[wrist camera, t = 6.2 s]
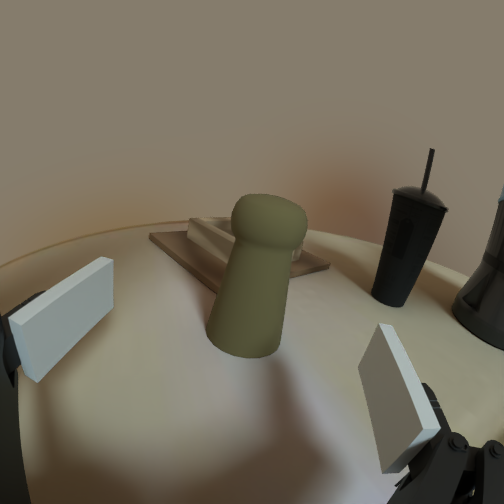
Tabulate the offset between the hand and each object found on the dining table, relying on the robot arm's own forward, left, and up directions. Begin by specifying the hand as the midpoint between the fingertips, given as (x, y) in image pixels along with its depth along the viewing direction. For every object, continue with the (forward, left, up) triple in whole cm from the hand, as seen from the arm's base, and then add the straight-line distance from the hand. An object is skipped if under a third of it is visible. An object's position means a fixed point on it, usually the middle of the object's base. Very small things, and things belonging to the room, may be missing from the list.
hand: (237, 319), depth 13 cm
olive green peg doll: (-6, -5, -7) cm, 11 cm away
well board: (-18, -19, -6) cm, 27 cm away
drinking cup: (-28, -1, -7) cm, 29 cm away
